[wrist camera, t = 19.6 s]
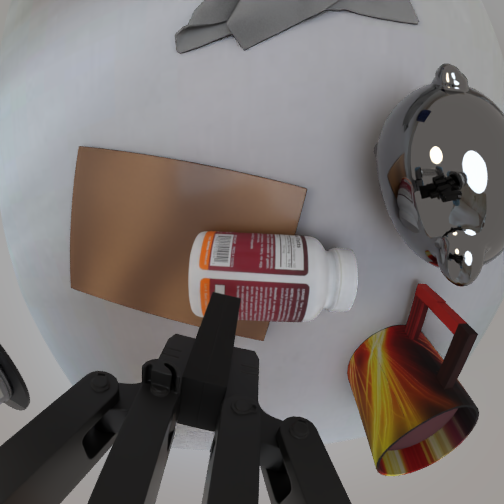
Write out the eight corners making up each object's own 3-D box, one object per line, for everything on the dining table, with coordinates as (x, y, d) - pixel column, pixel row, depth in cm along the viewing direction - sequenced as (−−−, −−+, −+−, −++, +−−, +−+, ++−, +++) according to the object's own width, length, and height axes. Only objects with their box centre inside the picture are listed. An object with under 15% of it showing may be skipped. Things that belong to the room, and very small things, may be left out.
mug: (419, 275, 24) (494, 343, 13) (428, 372, 28) (470, 442, 16) (327, 313, 25) (363, 411, 14) (355, 403, 29) (379, 486, 18)
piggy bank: (376, 272, 24) (440, 345, 13) (331, 101, 20) (389, 55, 9) (469, 236, 23) (549, 279, 12) (438, 84, 18) (524, 58, 8)
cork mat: (73, 285, 26) (70, 288, 25) (82, 146, 21) (78, 146, 21) (263, 337, 26) (263, 341, 26) (306, 188, 22) (307, 189, 22)
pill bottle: (201, 309, 24) (333, 315, 23) (184, 324, 17) (357, 332, 17) (206, 233, 24) (338, 241, 24) (189, 224, 18) (364, 235, 17)
